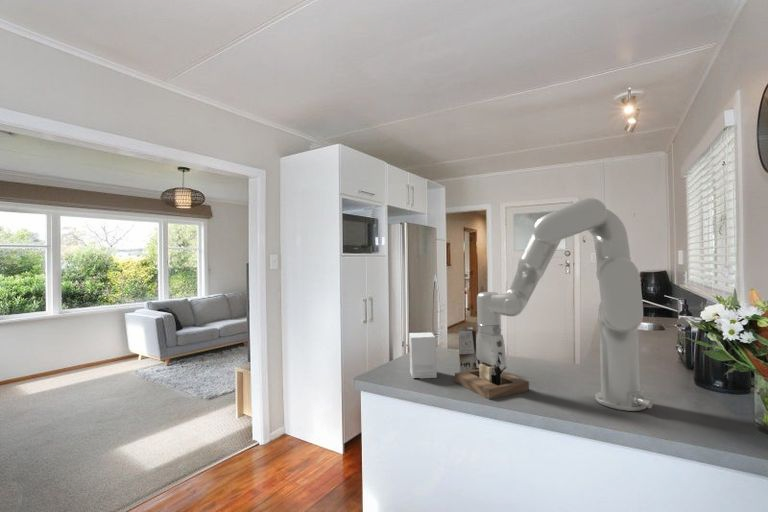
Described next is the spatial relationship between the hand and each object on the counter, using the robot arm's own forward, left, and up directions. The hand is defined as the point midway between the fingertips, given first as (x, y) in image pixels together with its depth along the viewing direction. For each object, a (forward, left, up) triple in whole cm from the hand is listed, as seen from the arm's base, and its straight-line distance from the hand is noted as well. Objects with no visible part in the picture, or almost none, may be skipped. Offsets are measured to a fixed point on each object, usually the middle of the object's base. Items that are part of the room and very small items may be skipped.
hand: (490, 383), depth 125 cm
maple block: (0, 0, -1) cm, 1 cm away
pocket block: (0, 0, -1) cm, 1 cm away
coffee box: (+18, -4, -1) cm, 18 cm away
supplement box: (+21, +14, -1) cm, 25 cm away
